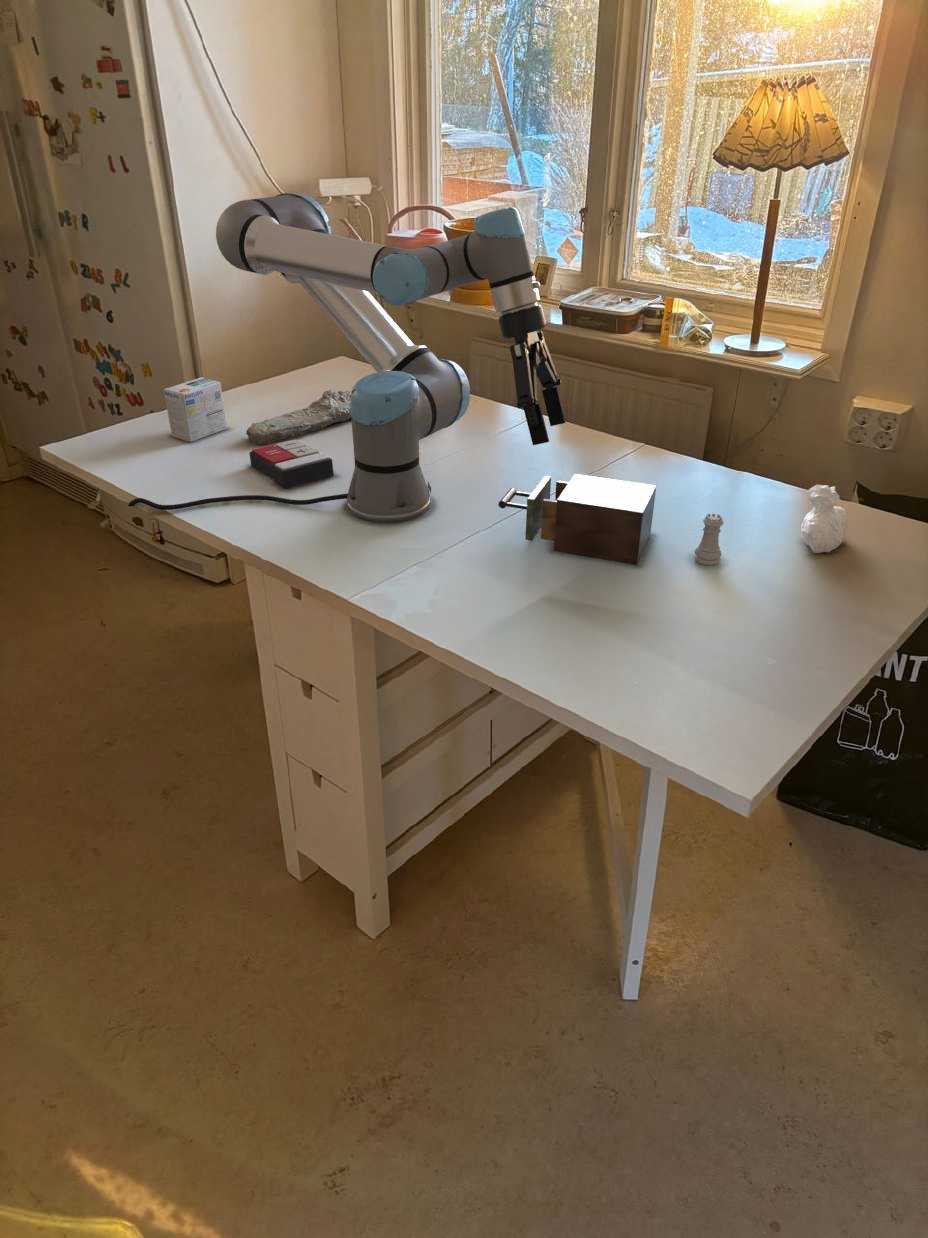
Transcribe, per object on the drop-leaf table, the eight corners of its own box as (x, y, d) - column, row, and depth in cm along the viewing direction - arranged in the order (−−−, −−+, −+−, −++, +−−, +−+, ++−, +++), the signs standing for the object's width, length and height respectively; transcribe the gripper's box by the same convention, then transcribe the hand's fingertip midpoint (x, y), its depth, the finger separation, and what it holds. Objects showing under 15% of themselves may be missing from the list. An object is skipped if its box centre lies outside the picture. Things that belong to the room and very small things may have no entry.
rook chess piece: (690, 563, 148) (697, 519, 144) (695, 552, 152) (702, 508, 148) (718, 568, 147) (726, 524, 143) (722, 556, 150) (730, 513, 146)
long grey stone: (237, 443, 198) (264, 457, 192) (233, 421, 195) (261, 434, 189) (358, 398, 218) (386, 410, 213) (357, 377, 215) (385, 388, 210)
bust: (832, 543, 159) (806, 485, 159) (871, 531, 153) (844, 470, 153) (797, 566, 152) (770, 505, 152) (837, 553, 146) (809, 490, 146)
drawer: (493, 534, 155) (494, 493, 151) (512, 510, 164) (513, 471, 160) (600, 552, 150) (604, 510, 146) (614, 526, 158) (618, 486, 154)
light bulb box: (208, 423, 205) (201, 375, 200) (228, 429, 202) (221, 381, 196) (170, 436, 198) (161, 387, 192) (190, 443, 194) (182, 393, 189)
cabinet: (553, 551, 152) (556, 499, 147) (571, 523, 161) (574, 473, 156) (637, 565, 148) (643, 512, 143) (650, 535, 157) (656, 485, 152)
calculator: (296, 436, 187) (332, 455, 177) (299, 456, 189) (334, 476, 179) (247, 448, 182) (281, 467, 171) (250, 468, 184) (284, 489, 173)
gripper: (522, 312, 138) (555, 447, 145) (556, 294, 159) (584, 412, 166) (476, 325, 141) (511, 456, 148) (516, 305, 162) (545, 421, 169)
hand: (550, 433), depth 157 cm, fingers open, 13 cm apart
